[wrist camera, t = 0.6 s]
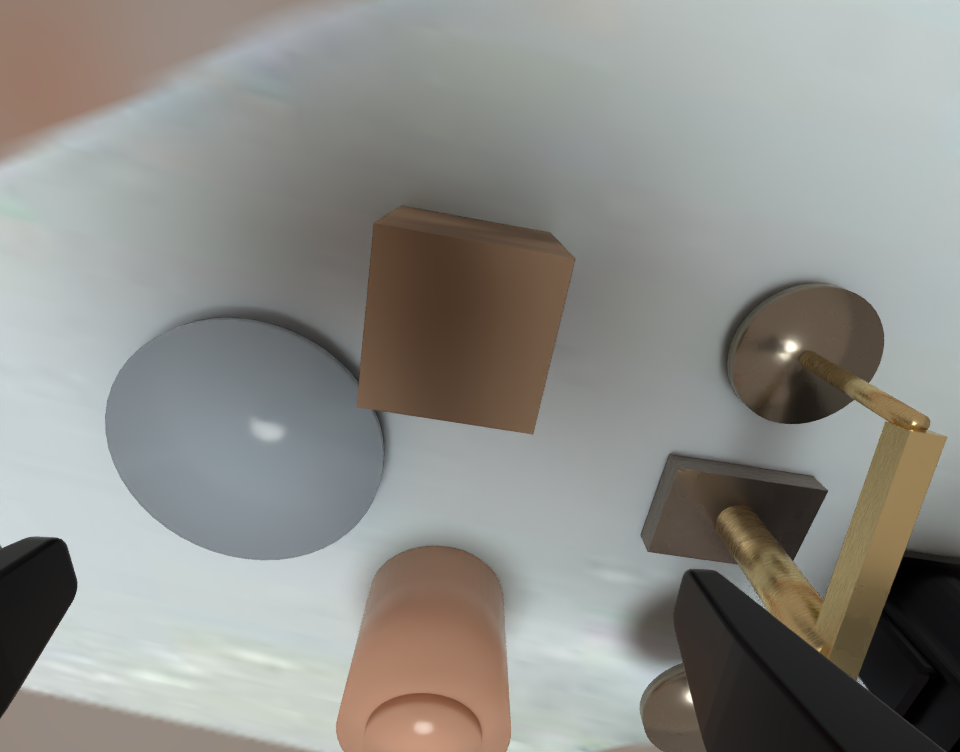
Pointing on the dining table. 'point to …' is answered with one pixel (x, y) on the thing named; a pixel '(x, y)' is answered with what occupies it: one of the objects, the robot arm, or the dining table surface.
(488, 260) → the walnut block
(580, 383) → the dining table surface
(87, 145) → the dining table surface
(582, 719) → the dining table surface
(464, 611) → the terracotta lidded jar
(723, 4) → the dining table surface
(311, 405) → the disc
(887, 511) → the balance
